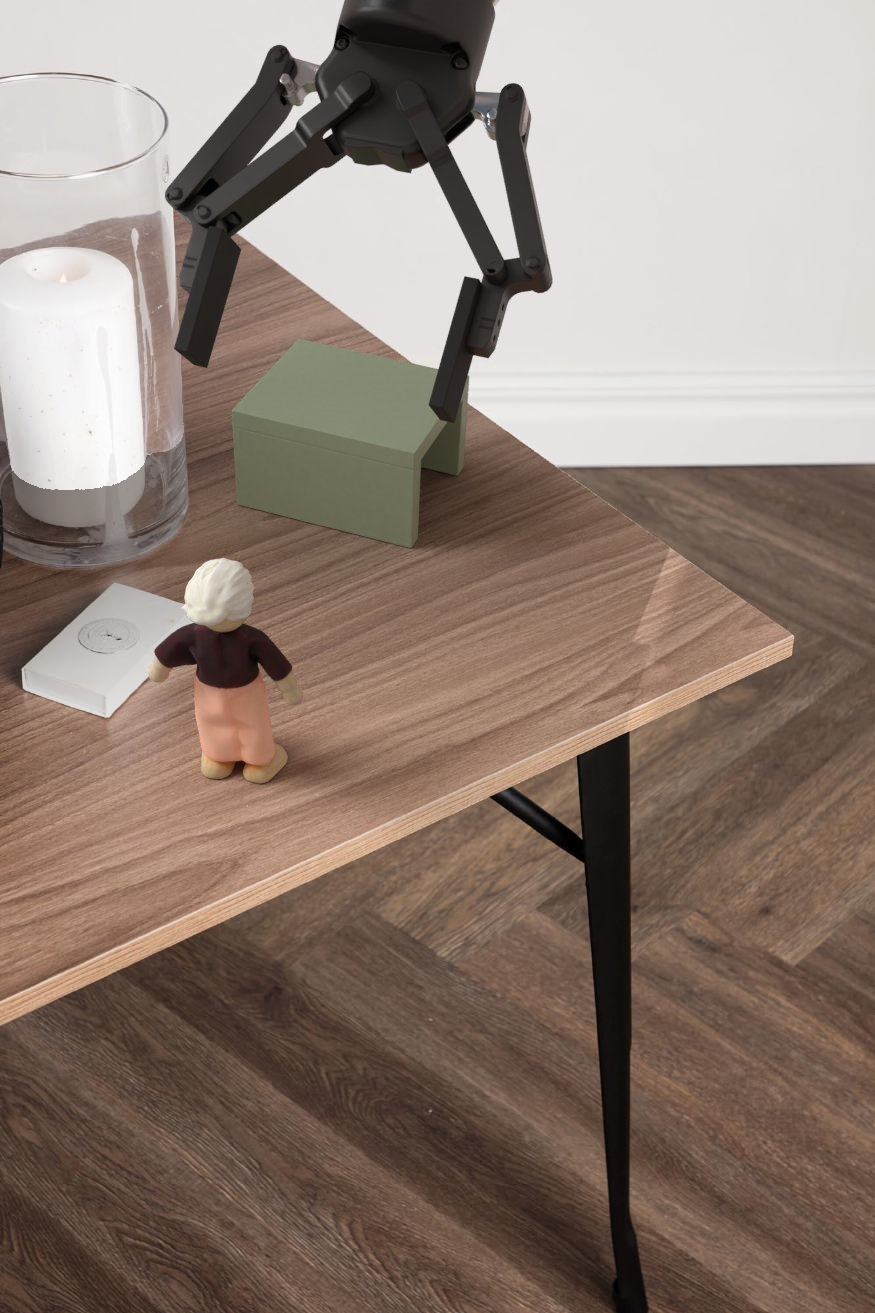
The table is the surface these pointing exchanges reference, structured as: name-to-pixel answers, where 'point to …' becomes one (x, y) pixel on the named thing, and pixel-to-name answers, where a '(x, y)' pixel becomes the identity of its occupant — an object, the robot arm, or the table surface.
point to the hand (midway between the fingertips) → (313, 386)
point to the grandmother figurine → (228, 673)
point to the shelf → (343, 441)
